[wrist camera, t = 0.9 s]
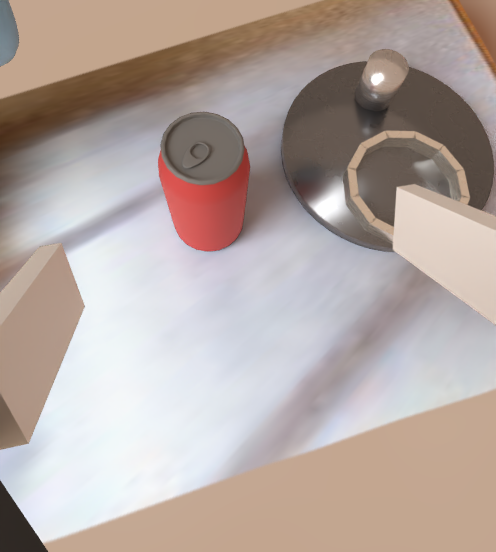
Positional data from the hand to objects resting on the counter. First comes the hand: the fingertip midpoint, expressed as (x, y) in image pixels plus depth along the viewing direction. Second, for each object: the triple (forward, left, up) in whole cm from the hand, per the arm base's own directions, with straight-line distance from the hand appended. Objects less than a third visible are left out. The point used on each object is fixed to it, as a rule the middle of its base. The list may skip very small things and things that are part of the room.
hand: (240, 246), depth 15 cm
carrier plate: (+5, +24, -20) cm, 31 cm away
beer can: (-7, +8, -20) cm, 22 cm away
